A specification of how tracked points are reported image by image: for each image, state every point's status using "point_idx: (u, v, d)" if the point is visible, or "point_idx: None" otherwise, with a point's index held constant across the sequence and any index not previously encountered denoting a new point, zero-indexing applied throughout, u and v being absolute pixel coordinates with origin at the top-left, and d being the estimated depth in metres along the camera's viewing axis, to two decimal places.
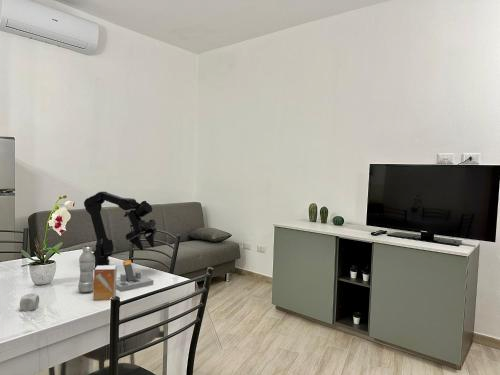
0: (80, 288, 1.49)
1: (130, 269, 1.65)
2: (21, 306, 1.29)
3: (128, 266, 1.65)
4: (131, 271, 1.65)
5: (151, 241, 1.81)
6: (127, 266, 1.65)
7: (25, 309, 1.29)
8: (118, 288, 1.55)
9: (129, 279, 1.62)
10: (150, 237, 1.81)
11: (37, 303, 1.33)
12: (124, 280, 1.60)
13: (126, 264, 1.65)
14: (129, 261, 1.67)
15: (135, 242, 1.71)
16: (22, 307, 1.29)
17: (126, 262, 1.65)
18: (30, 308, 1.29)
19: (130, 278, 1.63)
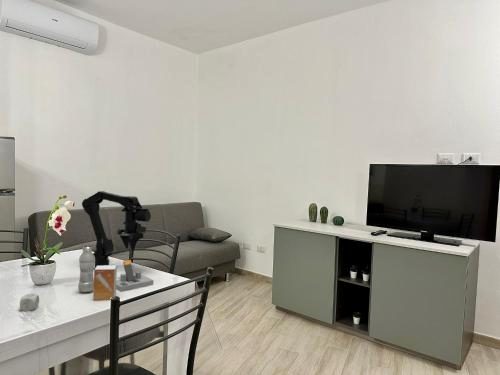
0: (80, 288, 1.49)
1: (130, 269, 1.65)
2: (21, 306, 1.29)
3: (128, 266, 1.65)
4: (131, 271, 1.65)
5: (127, 242, 1.86)
6: (127, 266, 1.65)
7: (25, 309, 1.29)
8: (118, 288, 1.55)
9: (129, 279, 1.62)
10: (127, 238, 1.86)
11: (37, 303, 1.33)
12: (124, 280, 1.60)
13: (126, 264, 1.65)
14: (129, 261, 1.67)
15: (132, 242, 1.79)
16: (22, 307, 1.29)
17: (126, 262, 1.65)
18: (30, 308, 1.29)
19: (130, 278, 1.63)
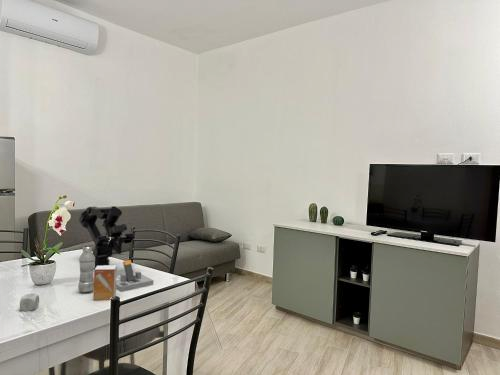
0: (80, 288, 1.49)
1: (130, 269, 1.65)
2: (21, 306, 1.29)
3: (128, 266, 1.65)
4: (131, 271, 1.65)
5: None
6: (127, 266, 1.65)
7: (25, 309, 1.29)
8: (118, 288, 1.55)
9: (129, 279, 1.62)
10: (118, 244, 1.75)
11: (37, 303, 1.33)
12: (124, 280, 1.60)
13: (126, 264, 1.65)
14: (129, 261, 1.67)
15: (113, 247, 1.74)
16: (22, 307, 1.29)
17: (126, 262, 1.65)
18: (30, 308, 1.29)
19: (130, 278, 1.63)
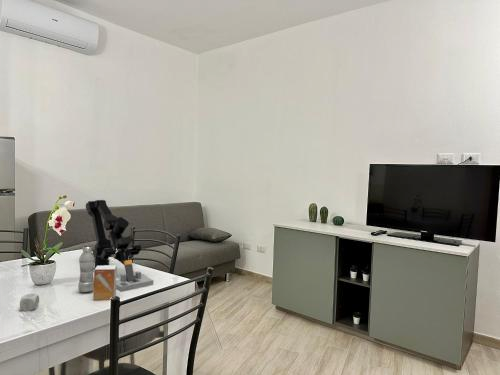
0: (80, 288, 1.49)
1: (130, 269, 1.65)
2: (21, 306, 1.29)
3: (129, 266, 1.65)
4: (131, 271, 1.65)
5: (125, 260, 1.68)
6: (128, 266, 1.65)
7: (25, 309, 1.29)
8: (118, 288, 1.55)
9: (129, 279, 1.62)
10: (125, 256, 1.69)
11: (37, 303, 1.33)
12: (124, 280, 1.60)
13: (127, 264, 1.65)
14: (130, 261, 1.66)
15: (120, 259, 1.68)
16: (22, 307, 1.29)
17: (127, 262, 1.65)
18: (30, 308, 1.29)
19: (130, 278, 1.63)
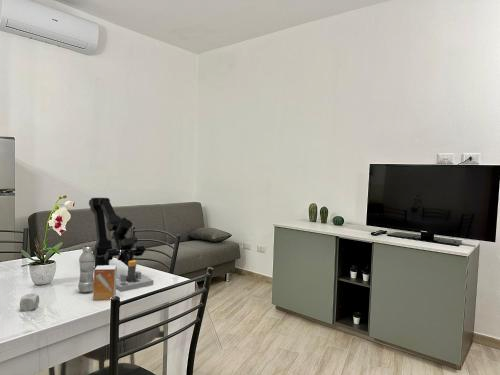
0: (80, 288, 1.49)
1: (133, 270, 1.63)
2: (21, 306, 1.29)
3: (132, 268, 1.63)
4: (133, 272, 1.63)
5: None
6: (131, 267, 1.62)
7: (25, 309, 1.29)
8: (118, 288, 1.55)
9: (129, 281, 1.62)
10: (128, 257, 1.66)
11: (37, 303, 1.33)
12: (124, 280, 1.60)
13: (131, 266, 1.62)
14: (135, 263, 1.63)
15: (123, 260, 1.66)
16: (22, 307, 1.29)
17: (131, 264, 1.62)
18: (30, 308, 1.29)
19: (130, 280, 1.63)
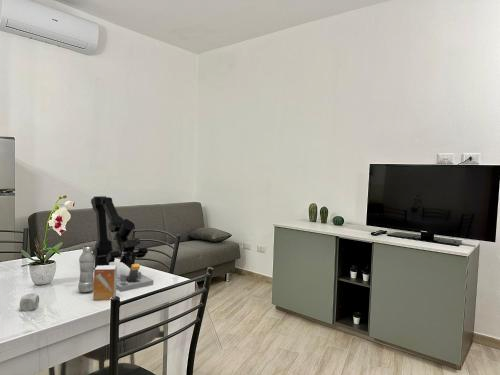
0: (80, 288, 1.49)
1: (135, 273, 1.62)
2: (21, 306, 1.29)
3: (134, 271, 1.61)
4: (135, 275, 1.63)
5: None
6: (133, 271, 1.61)
7: (25, 309, 1.29)
8: (118, 288, 1.55)
9: (129, 282, 1.62)
10: (131, 259, 1.65)
11: (37, 303, 1.33)
12: (124, 280, 1.60)
13: (133, 269, 1.60)
14: (138, 267, 1.61)
15: (126, 262, 1.64)
16: (22, 307, 1.29)
17: (134, 268, 1.60)
18: (30, 308, 1.29)
19: (130, 281, 1.63)
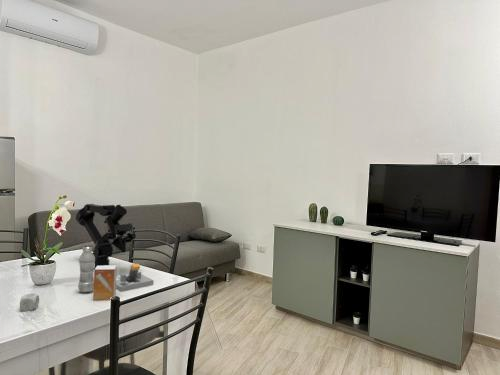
0: (80, 288, 1.49)
1: (135, 273, 1.62)
2: (21, 306, 1.29)
3: (134, 271, 1.61)
4: (135, 275, 1.63)
5: None
6: (133, 271, 1.61)
7: (25, 309, 1.29)
8: (118, 288, 1.55)
9: (129, 282, 1.62)
10: (122, 242, 1.77)
11: (37, 303, 1.33)
12: (124, 280, 1.60)
13: (133, 270, 1.60)
14: (138, 267, 1.61)
15: (117, 244, 1.76)
16: (22, 307, 1.29)
17: (134, 268, 1.60)
18: (30, 308, 1.29)
19: (130, 281, 1.63)
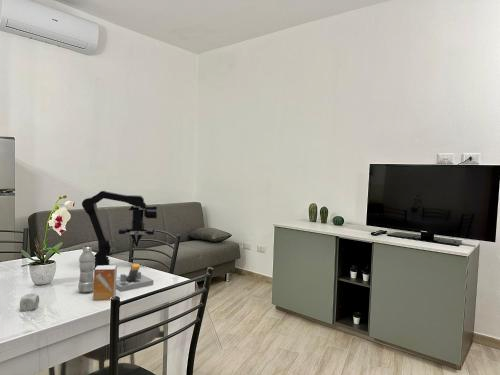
0: (80, 288, 1.49)
1: (135, 273, 1.62)
2: (21, 306, 1.29)
3: (134, 271, 1.61)
4: (135, 275, 1.63)
5: None
6: (133, 271, 1.61)
7: (25, 309, 1.29)
8: (118, 288, 1.55)
9: (129, 282, 1.62)
10: (136, 236, 1.92)
11: (37, 303, 1.33)
12: (124, 280, 1.60)
13: (133, 270, 1.60)
14: (138, 267, 1.61)
15: None
16: (22, 307, 1.29)
17: (134, 268, 1.60)
18: (30, 308, 1.29)
19: (130, 281, 1.63)
